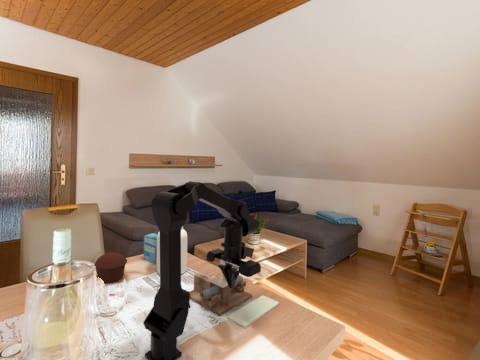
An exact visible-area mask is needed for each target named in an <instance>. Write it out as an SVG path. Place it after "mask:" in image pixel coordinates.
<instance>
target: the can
mask: <svg viewBox="0 0 480 360" xmlns="http://www.w3.org/2000/svg"><path fill="white" fill-rule="evenodd" d="M157 234H158V235H157V264H156V273H157V274H158V275H160V231H159V230H158V233H157ZM187 267H188V232H187V230H185V228H184V226H183V227H182V228H181V275H183V274H185V272H187V270H188V269H187Z"/></svg>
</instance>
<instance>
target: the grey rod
mask: <svg viewBox="0 0 480 360" xmlns="http://www.w3.org/2000/svg"><path fill="white" fill-rule="evenodd" d="M243 281H244V277H243V275H242V274H239V275H238V277H237V280H236V282H235V285H234V287H235V286H237V285H239V284H240V283H241V282H243ZM228 287H229V285H228ZM221 288H222V287H220V286H218V285H215V286H212V287H210V288H208V289H206V290H205V291H204V292H203V297H204V298H205V299H206V300H209V299H211V297H213V296H215V295H219V294H221ZM229 289H231V288H230V287H229Z"/></svg>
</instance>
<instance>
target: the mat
mask: <svg viewBox="0 0 480 360" xmlns="http://www.w3.org/2000/svg"><path fill="white" fill-rule="evenodd" d="M279 305H280V302H279V301H277V300H274V299H272V298H270V297H268V296H265V295H264V294H263V295H261V296H259V297H258V298H255V299H254V300H252V301H250V302H249V303H248V304H246V305H244V306H243V307H241V308H239V309H238V310H235V311H234V312H232V313H231V314H229V315H228V316H227V319H228V320H230V321H232V322H233V323H235V324H237V325H239V327H242V328H243V329H247V328H248V327H250V325H252V324H254V323H255V322H257V321H258V320H259V319H261V318H262V317H263V316H265V315H267V314H268V313H269V312H271V311H273V309H275V308H277V307H278V306H279Z"/></svg>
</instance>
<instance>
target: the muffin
mask: <svg viewBox="0 0 480 360" xmlns="http://www.w3.org/2000/svg"><path fill="white" fill-rule="evenodd" d="M127 263H128V259H127V258H126V256H125V255H123V254H121V253H120V252H115V251H113V252H112V251H111V252H110V251H109V252H106V253H103V254H102V255H100V256H99V257H98V258H97V259H96V261H95V263H94V267H95V266H96V267H95V271H96V276H97V277H96V278H98V277H99V278H101V279H102V280H103V281H104V283H105V284H107V285H110V284H114V283H119V282H120V281H121V280H123V279H124V274H125V268H126V264H127ZM105 284H104V285H105Z"/></svg>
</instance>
